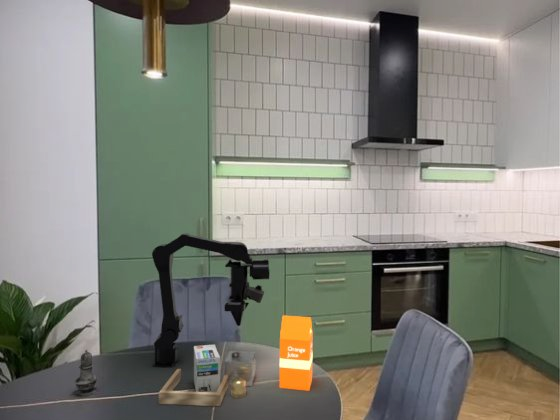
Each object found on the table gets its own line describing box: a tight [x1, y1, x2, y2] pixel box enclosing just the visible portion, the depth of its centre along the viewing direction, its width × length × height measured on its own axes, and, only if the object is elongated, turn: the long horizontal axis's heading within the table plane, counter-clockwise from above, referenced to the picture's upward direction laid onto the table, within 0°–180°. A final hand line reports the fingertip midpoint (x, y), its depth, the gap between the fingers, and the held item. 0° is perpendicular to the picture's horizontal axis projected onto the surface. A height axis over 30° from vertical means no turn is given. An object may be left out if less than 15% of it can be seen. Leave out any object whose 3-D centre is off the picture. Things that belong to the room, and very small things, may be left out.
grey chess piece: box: [74, 349, 99, 397], centre depth 107 cm, size 6×6×12 cm
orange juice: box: [279, 315, 314, 391], centre depth 113 cm, size 8×9×20 cm
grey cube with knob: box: [224, 350, 257, 387], centre depth 116 cm, size 8×8×8 cm
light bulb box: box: [193, 344, 221, 393], centre depth 110 cm, size 11×7×11 cm, turn 18°
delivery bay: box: [158, 368, 230, 407], centre depth 108 cm, size 16×15×3 cm
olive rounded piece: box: [230, 377, 247, 399], centre depth 107 cm, size 4×4×4 cm
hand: (238, 325), depth 130 cm, fingers closed
